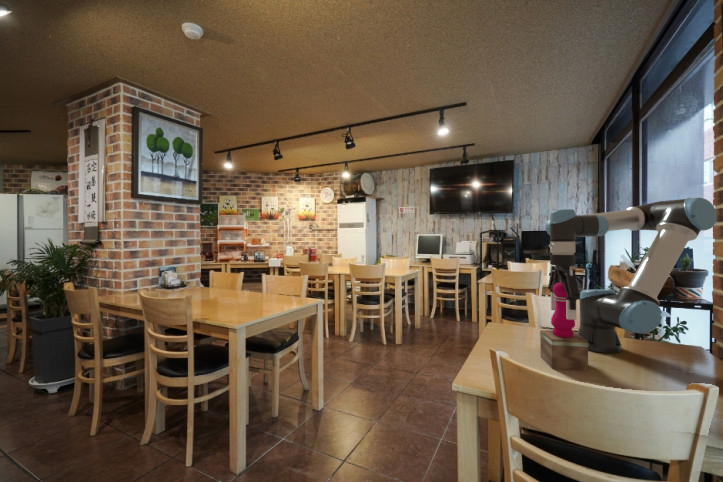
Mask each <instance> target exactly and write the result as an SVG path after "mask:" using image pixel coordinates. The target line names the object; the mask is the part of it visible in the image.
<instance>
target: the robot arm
mask: <svg viewBox="0 0 723 482" xmlns="http://www.w3.org/2000/svg"><path fill="white" fill-rule="evenodd" d="M717 217H718V216H717V211H716V208H715V206H714V205H713V203H712V202H711V201H710V200H708V199H706V198H704V197H687V198H683V199H682V198H681V199H679V198H678V199H670V200H661V201H655V202H649V203H646V204H640V205H636V206H630V207H627V208H626V209H624V210H622V209H621V210H615V211H614V210H613V211H607V212H599V213H598V212H597V213H589V214H581V215H579V214H578V215H576V212H575V209H572V208H571V209H570V208H569V209H567V208H565V209H554V210H552V211H551V212H550V214H549V220H547V221H546V224H545V232H546V233H547V235H549V239H550V240H549V244H548V247H549V248H550V251H549V252H550V253H551V254H550V255H549V265H551V266H550V276H549V279H548V281H549V282H548V286H547V290H549V292H550V310H551V311H555V309H556V300H554V299H555V297H554V296H556V295H555V294H554V292H553V286H554V285H555V284H556V283H559V282H560V281H561V282H562V283H563V285H564V288H565V291H566V294H567V297H566V319H572V320H577V301H578V300H579V326H578V327H579V328H578V331H577V332H576V333H577V334H578V335H580V336H581V337H583V338H585V339H586V340H588V343H589V347H588V351H590V352H594V353H595V352H596V353H601V354H602V353H603V354H617V353H621V352H622V343H621V341H620V338H619V335H618V332H617V330H616V329H617V328H618V329H622V330H624V331H627V332H630V333H635V334H636V333H637V334H647V333H651V332H652V331H654V330H655V329H657V327H659V325H660V324H661V322H662V320H663V319H662V317H663V316H662V315H661V314H662V310H661V307H660V303H661V302H660V301H659V299H658V296H659V294H660V293H661V290H662V289H663V287H664V286H665V283H666V282H667V280H668V278H669V276H670V274H671V272H672V271H673V269H674V267H675V265H676V264H677V262H678V260H679V258H680V257H681V255H682V253H683V251H684V249H685V247H686V246H687V244H688V242H690V241H691V242H692V241H694V240H696V239H697V238H698V236H699V235H700V233H701V231H703V232H704V231H708V230H711V229H712V228H713V227H714V226H715V225H716V223H717V219H718V218H717ZM620 230H629V231H633V232H634V231H657V234H656V236H655V237H654V239H653V241H652V242H651V245H650V246H649V248H648V250H647V252H646V253H645V256H643V259H642V261H641V262H640V264H639V266H638V268H637V269H636V271H635V272H634V275H633V277H632V278H631V280H630V282H629V283H628V285H626V286H622V287H620V289H619V291H618V292H616V290H614V289H583V290H581V291H580V289H579V286H578V281H577V276H576V269H574V268H573V269H571V267H573V266H575V265H576V254H575V253H576V238H577V237H581V238H583V237H585V238H586V237H588V238H589V237H592V238H594V237H595V238H597V237H602V236H605V235H606V234H607V232H613V231H620Z"/></svg>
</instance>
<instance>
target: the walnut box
mask: <svg viewBox="0 0 723 482" xmlns="http://www.w3.org/2000/svg"><path fill="white" fill-rule="evenodd" d="M573 332H574V336H573V337H569V338H567V337H559V336H555V335H553V329H552V330H548V329H547V330H546V329H545V330H544V329H540V332H539V335H540V337H539V338H540V340H539V341H540V342H539V343H540V359H542V360H543V361H544V362H545V363H546V364H547V365H548V366H549V367H550V368H551V369H554V370H571V371H585V372H588V371H589V350H588V347H589V343H588V340H586V339H585V338H583V337H581V336H580V335H578V334H577V332H575V331H573Z"/></svg>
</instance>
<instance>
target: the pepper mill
mask: <svg viewBox="0 0 723 482" xmlns="http://www.w3.org/2000/svg"><path fill="white" fill-rule="evenodd" d="M553 292H554V294H555V295H556V296H554V297H555V299H554V300H556V309H555V310H553V311H554V312H553V313H552V316H551V319H550V324H551V325H552V326H553V328H552V331H553V335H555V336H559V337H567V338H569V337H573V336H574V332H575V331H574V330H573V329H574V328H575V327H576V321H575V320H572V319H566V297H567V294H566V291H565V288H564V285H563V283H562V282H561V281H560V282H559V283H556V284H555V285H554V286H553Z"/></svg>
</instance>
